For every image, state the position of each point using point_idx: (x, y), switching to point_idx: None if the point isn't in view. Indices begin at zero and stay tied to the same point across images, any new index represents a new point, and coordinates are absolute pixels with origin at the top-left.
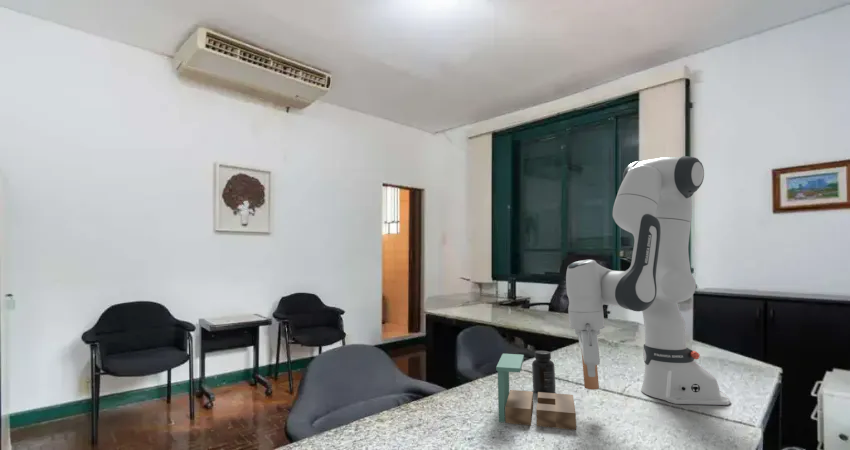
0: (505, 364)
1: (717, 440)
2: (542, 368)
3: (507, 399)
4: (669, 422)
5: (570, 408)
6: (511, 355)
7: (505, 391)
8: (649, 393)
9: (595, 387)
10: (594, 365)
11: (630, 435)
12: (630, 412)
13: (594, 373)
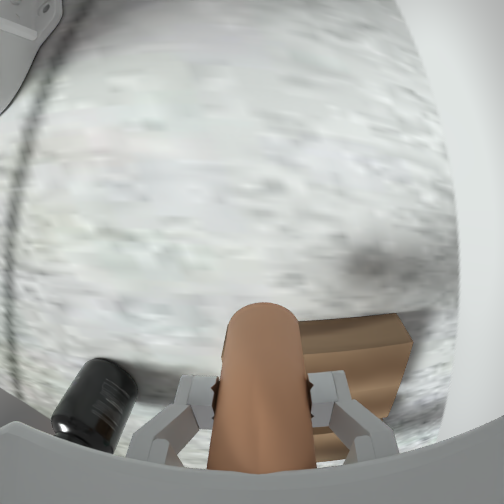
0: None
1: None
2: (112, 441)
3: (321, 461)
4: (241, 15)
5: (374, 358)
6: None
7: None
8: (11, 91)
9: (295, 323)
10: (384, 426)
11: (408, 164)
12: (178, 135)
13: (346, 384)
